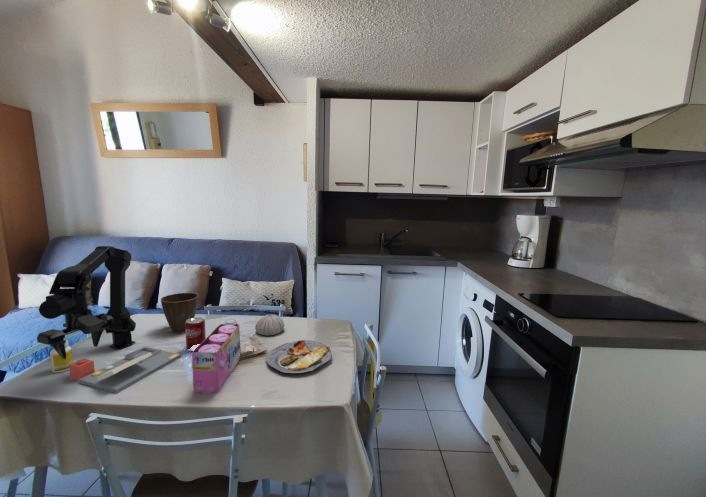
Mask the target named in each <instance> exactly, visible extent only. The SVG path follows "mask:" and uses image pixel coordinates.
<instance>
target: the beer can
mask: <svg viewBox="0 0 706 497" xmlns="http://www.w3.org/2000/svg"><path fill="white" fill-rule="evenodd" d="M223 324H224V326H226V325H233V326H236V325H237V324H238V322H237V320H236V319H233V318H231V319H227V320H225V323H223Z"/></svg>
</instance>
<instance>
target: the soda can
mask: <svg viewBox="0 0 706 497" xmlns="http://www.w3.org/2000/svg"><path fill="white" fill-rule="evenodd" d="M184 333H185V349H186V348H187V349H190V348H191V347H192V346H193V345H197V344H201V343H202V342H203V341H204V340H205V339H206V338H207V335H206V318H204V317H201V316H199V317H198V316H197V317H196V316H195V317H194V318H190V319H188V320H186V322H185V332H184ZM187 349H186V350H187Z"/></svg>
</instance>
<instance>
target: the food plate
mask: <svg viewBox="0 0 706 497" xmlns="http://www.w3.org/2000/svg"><path fill="white" fill-rule="evenodd" d="M330 348H331V347H330V346H327V345H325V344H324V343H322V342H319V341H315V340H305V339H304V340H303V339H302V340H301V339H300V340H296V341H290V342H286V343H283V344H281V345H278V346H277V347H274V348H273V349H271V350H270V351H268V353H267V354H266V356H265V359H266V363H267V365H269V366H270V367H271V368H273V369H275V370H276V371H280V372H281V373H287V374H289V373H290V374H301V373H302V374H303V373H308V372H313V371H314V370H315V369H317V368H319V367H322V366H323V365H324V364H326V363H327V362H329V361H330V360H331V359H332V358H333V355H332V350H331V349H330ZM282 356H283V357H282ZM281 357H282V358H281ZM279 363H280V364H279ZM286 366H288V367H287V368H285V367H286Z"/></svg>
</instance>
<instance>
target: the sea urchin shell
mask: <svg viewBox="0 0 706 497" xmlns="http://www.w3.org/2000/svg"><path fill="white" fill-rule="evenodd" d="M254 327H255V331H256V332H257V333H258V334H260V335H262V336H273V335H277V334H279V333H282V331H283V330H284V328H285V323H284V321H283V319H282V318H281V317H280V316H278V315H277V314H265V315H264V316H262V317H261V318H260V319H258V320H257V322H256V323H255V326H254Z"/></svg>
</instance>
